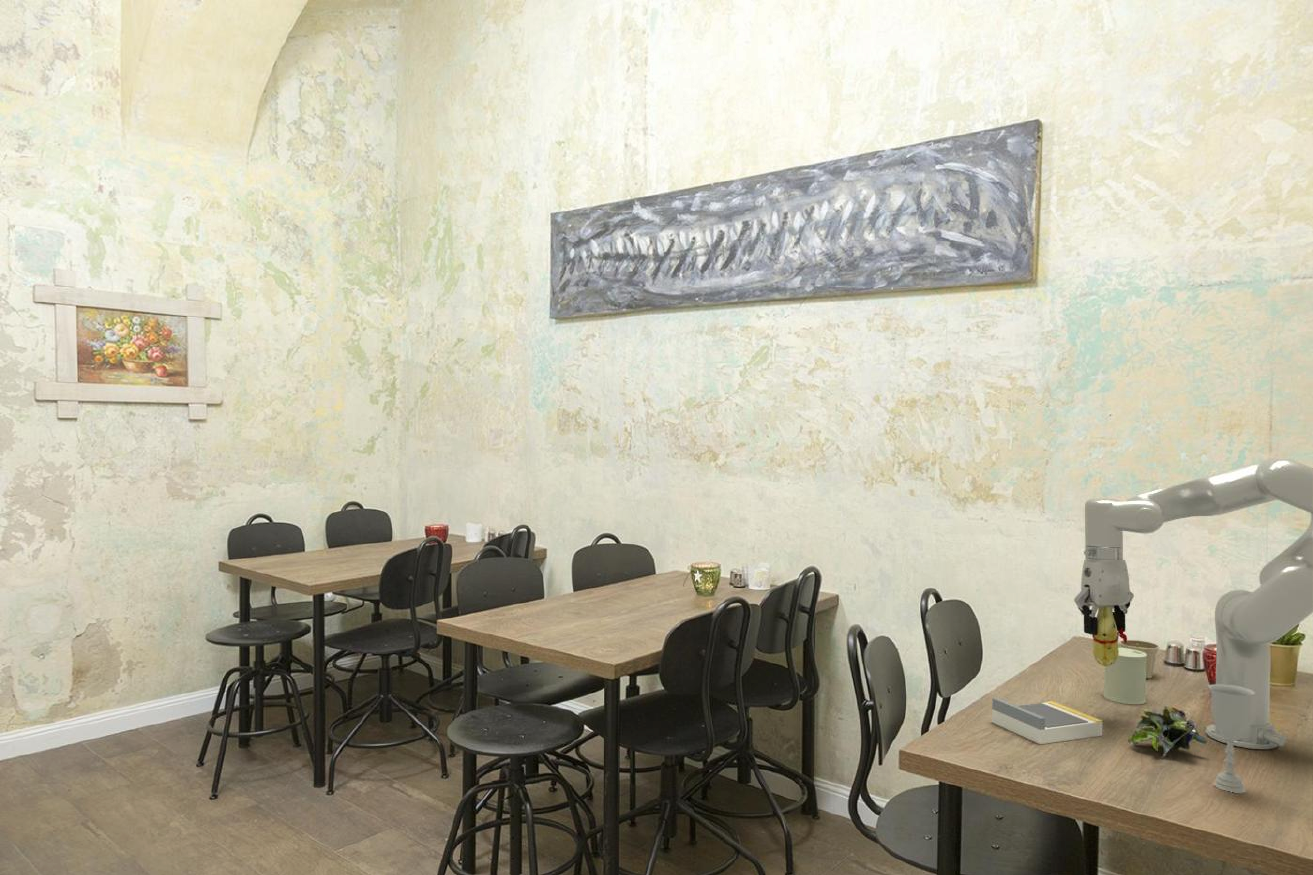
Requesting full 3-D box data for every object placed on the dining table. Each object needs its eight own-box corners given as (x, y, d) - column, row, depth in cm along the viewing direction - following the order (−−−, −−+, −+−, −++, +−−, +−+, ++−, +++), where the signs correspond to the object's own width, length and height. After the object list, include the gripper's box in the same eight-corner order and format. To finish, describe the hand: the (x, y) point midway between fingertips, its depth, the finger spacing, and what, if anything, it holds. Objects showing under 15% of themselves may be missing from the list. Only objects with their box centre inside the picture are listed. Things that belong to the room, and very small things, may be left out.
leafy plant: (1173, 775, 176) (1215, 734, 173) (1165, 782, 168) (1209, 738, 165) (1125, 733, 183) (1164, 692, 180) (1114, 737, 174) (1155, 694, 172)
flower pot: (1123, 679, 227) (1123, 646, 227) (1115, 669, 236) (1115, 638, 236) (1163, 682, 224) (1163, 649, 224) (1153, 673, 233) (1154, 641, 233)
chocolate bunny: (1091, 666, 189) (1090, 598, 189) (1094, 655, 199) (1093, 590, 199) (1126, 670, 186) (1125, 601, 186) (1127, 658, 195) (1127, 593, 195)
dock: (1102, 735, 184) (1102, 710, 184) (1040, 744, 178) (1040, 718, 178) (1051, 714, 197) (1051, 691, 197) (992, 722, 191) (992, 698, 191)
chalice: (1235, 779, 161) (1237, 684, 161) (1262, 795, 154) (1264, 695, 154) (1197, 779, 161) (1199, 684, 160) (1222, 795, 154) (1224, 695, 154)
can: (1154, 705, 205) (1155, 655, 205) (1115, 704, 205) (1116, 654, 205) (1133, 693, 214) (1134, 645, 214) (1096, 692, 214) (1097, 644, 214)
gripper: (1087, 558, 186) (1088, 639, 186) (1147, 553, 192) (1148, 632, 192) (1060, 553, 193) (1061, 632, 193) (1118, 549, 199) (1119, 625, 199)
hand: (1104, 631), depth 192 cm, fingers closed on chocolate bunny, 7 cm apart
